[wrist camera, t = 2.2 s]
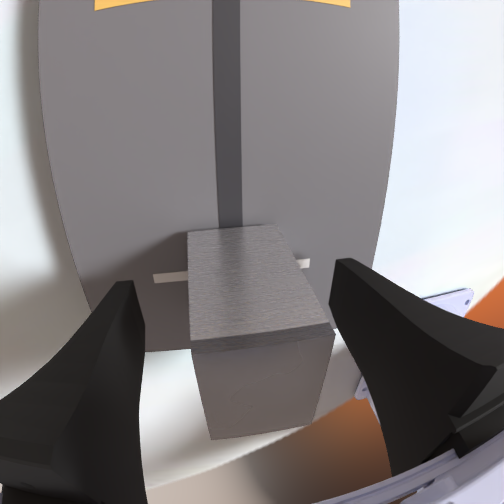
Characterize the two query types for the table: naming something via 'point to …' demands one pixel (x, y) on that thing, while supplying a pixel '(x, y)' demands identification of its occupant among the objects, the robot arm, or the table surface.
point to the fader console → (215, 135)
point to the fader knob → (254, 332)
